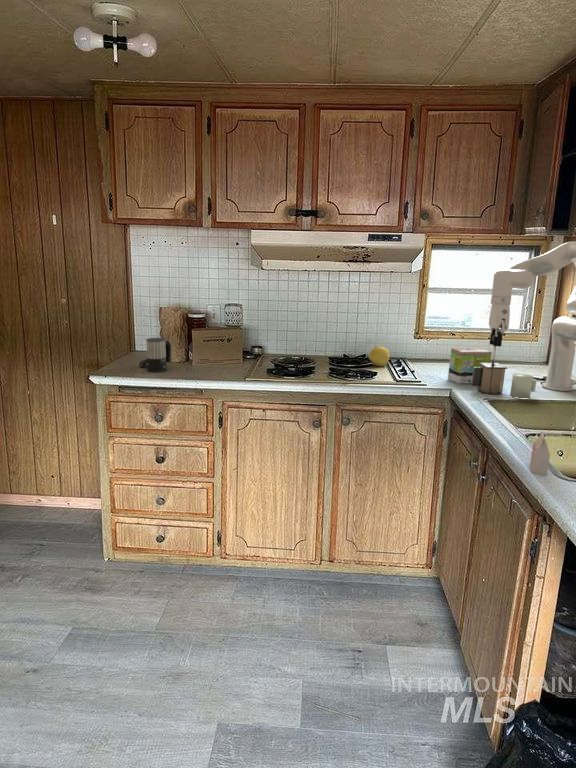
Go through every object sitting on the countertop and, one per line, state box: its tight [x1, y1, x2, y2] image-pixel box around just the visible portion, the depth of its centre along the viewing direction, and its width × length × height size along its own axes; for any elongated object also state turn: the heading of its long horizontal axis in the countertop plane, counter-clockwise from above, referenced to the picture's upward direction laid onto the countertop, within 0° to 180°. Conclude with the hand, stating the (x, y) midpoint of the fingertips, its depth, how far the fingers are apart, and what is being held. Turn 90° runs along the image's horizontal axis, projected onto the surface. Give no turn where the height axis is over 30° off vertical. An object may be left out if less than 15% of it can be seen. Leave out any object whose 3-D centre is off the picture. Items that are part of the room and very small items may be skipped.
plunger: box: [491, 335, 497, 366], centre depth 220 cm, size 6×6×16 cm
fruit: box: [368, 346, 391, 367], centre depth 270 cm, size 10×11×10 cm
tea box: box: [447, 347, 493, 384], centre depth 241 cm, size 15×10×15 cm, turn 106°
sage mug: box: [509, 373, 538, 399], centre depth 216 cm, size 9×8×9 cm
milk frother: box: [138, 337, 172, 373], centre depth 248 cm, size 14×16×15 cm
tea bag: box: [529, 431, 551, 477], centre depth 141 cm, size 4×7×10 cm, turn 158°
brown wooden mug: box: [471, 362, 508, 396], centre depth 223 cm, size 13×10×12 cm
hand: (495, 344), depth 219 cm, fingers closed on plunger, 3 cm apart
